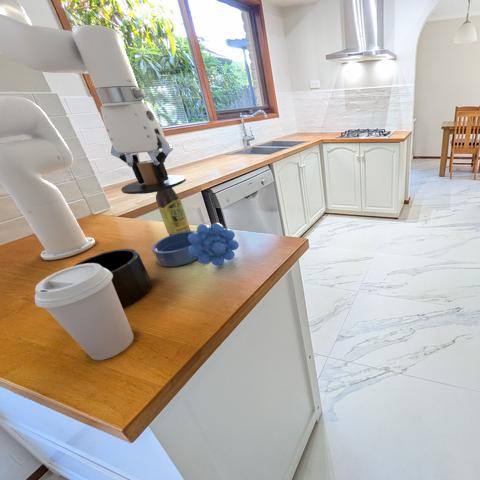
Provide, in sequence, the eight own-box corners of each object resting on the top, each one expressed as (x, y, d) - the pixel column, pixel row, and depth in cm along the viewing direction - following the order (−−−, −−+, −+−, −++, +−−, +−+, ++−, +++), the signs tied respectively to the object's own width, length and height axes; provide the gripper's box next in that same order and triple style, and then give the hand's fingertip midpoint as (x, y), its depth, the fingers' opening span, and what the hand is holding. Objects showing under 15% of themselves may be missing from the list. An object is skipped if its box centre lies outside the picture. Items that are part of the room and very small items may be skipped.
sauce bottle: (182, 240, 89) (158, 177, 80) (165, 239, 90) (139, 177, 81) (196, 231, 95) (175, 170, 86) (180, 230, 96) (157, 171, 87)
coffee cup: (70, 353, 51) (19, 284, 44) (130, 319, 58) (94, 255, 51) (90, 377, 46) (36, 304, 39) (153, 337, 53) (117, 269, 46)
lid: (109, 195, 68) (97, 168, 65) (160, 178, 79) (151, 155, 76) (151, 198, 63) (139, 169, 60) (198, 180, 74) (191, 155, 71)
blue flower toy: (204, 281, 68) (187, 236, 63) (193, 271, 72) (177, 228, 67) (249, 261, 75) (237, 218, 70) (237, 252, 80) (225, 212, 74)
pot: (71, 308, 62) (50, 275, 58) (128, 275, 73) (112, 246, 69) (110, 319, 58) (90, 285, 54) (164, 283, 69) (150, 252, 65)
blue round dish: (147, 264, 77) (140, 249, 75) (185, 242, 88) (180, 229, 86) (182, 270, 73) (176, 255, 71) (218, 247, 84) (213, 233, 81)
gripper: (169, 94, 65) (195, 174, 73) (96, 100, 65) (130, 179, 74) (148, 94, 58) (179, 183, 67) (68, 101, 59) (109, 188, 67)
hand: (153, 180), depth 70 cm, fingers closed on lid, 4 cm apart
